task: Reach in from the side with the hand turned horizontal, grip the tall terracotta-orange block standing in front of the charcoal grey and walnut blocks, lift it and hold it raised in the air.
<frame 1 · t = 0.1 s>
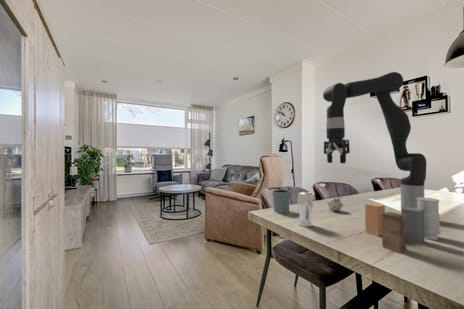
hand: (336, 163, 98), 29 cm above the table, tool pointing down, fingers open, 8 cm apart
orange block: (375, 233, 88), on the table
game die: (335, 211, 123), on the table
grey block: (413, 240, 81), on the table
walnut block: (394, 248, 74), on the table
grey-green cup: (281, 211, 124), on the table
beer glass: (305, 225, 100), on the table
grey ribbed canister: (428, 237, 84), on the table
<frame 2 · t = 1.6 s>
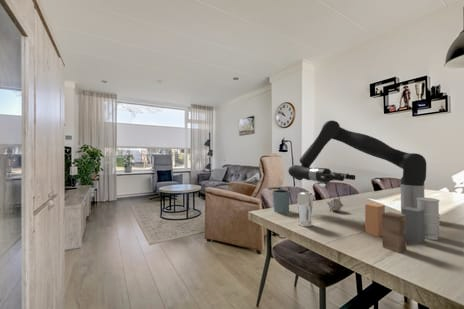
hand: (349, 178, 98), 22 cm above the table, tool horizontal, fingers open, 8 cm apart
nothing on the table moved.
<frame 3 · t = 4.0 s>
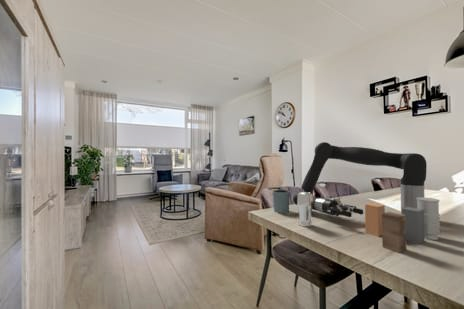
hand: (357, 213, 95), 6 cm above the table, tool horizontal, fingers open, 8 cm apart
nothing on the table moved.
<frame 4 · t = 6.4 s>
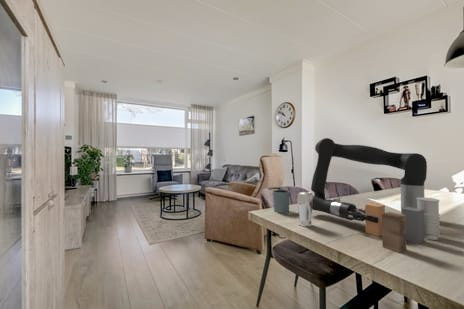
hand: (381, 219, 86), 7 cm above the table, tool horizontal, fingers closed on orange block, 5 cm apart
orange block: (375, 233, 88), on the table, touching gripper
everything else where it was.
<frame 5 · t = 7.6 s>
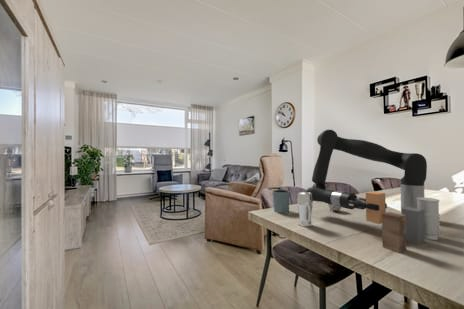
hand: (382, 207, 86), 12 cm above the table, tool horizontal, fingers closed on orange block, 5 cm apart
orange block: (376, 221, 88), point 5 cm above the table, touching gripper
everything else where it was.
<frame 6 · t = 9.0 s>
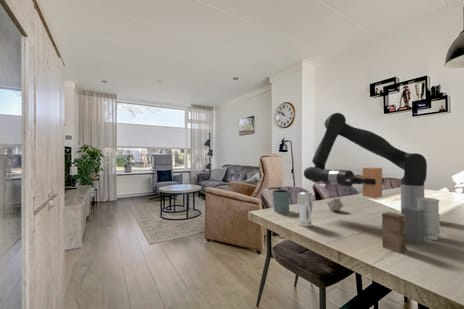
hand: (379, 181, 87), 22 cm above the table, tool horizontal, fingers closed on orange block, 5 cm apart
orange block: (372, 196, 89), point 15 cm above the table, touching gripper
everything else where it was.
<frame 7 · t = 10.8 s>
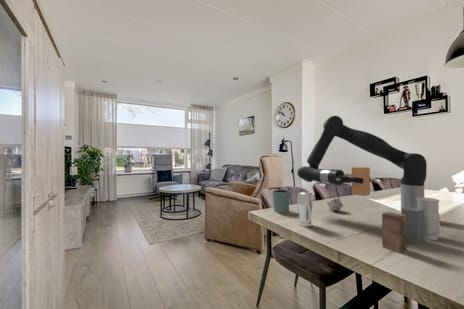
hand: (366, 180, 91), 22 cm above the table, tool horizontal, fingers closed on orange block, 5 cm apart
orange block: (360, 194, 93), point 15 cm above the table, touching gripper
everything else where it was.
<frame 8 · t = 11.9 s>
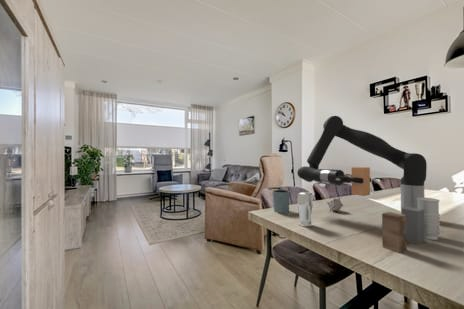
hand: (366, 180, 91), 22 cm above the table, tool horizontal, fingers closed on orange block, 5 cm apart
orange block: (360, 194, 93), point 15 cm above the table, touching gripper
everything else where it was.
at the end: the gripper is holding orange block; orange block point 15.3 cm above the table; grey block moved 0.0 cm from its start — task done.
